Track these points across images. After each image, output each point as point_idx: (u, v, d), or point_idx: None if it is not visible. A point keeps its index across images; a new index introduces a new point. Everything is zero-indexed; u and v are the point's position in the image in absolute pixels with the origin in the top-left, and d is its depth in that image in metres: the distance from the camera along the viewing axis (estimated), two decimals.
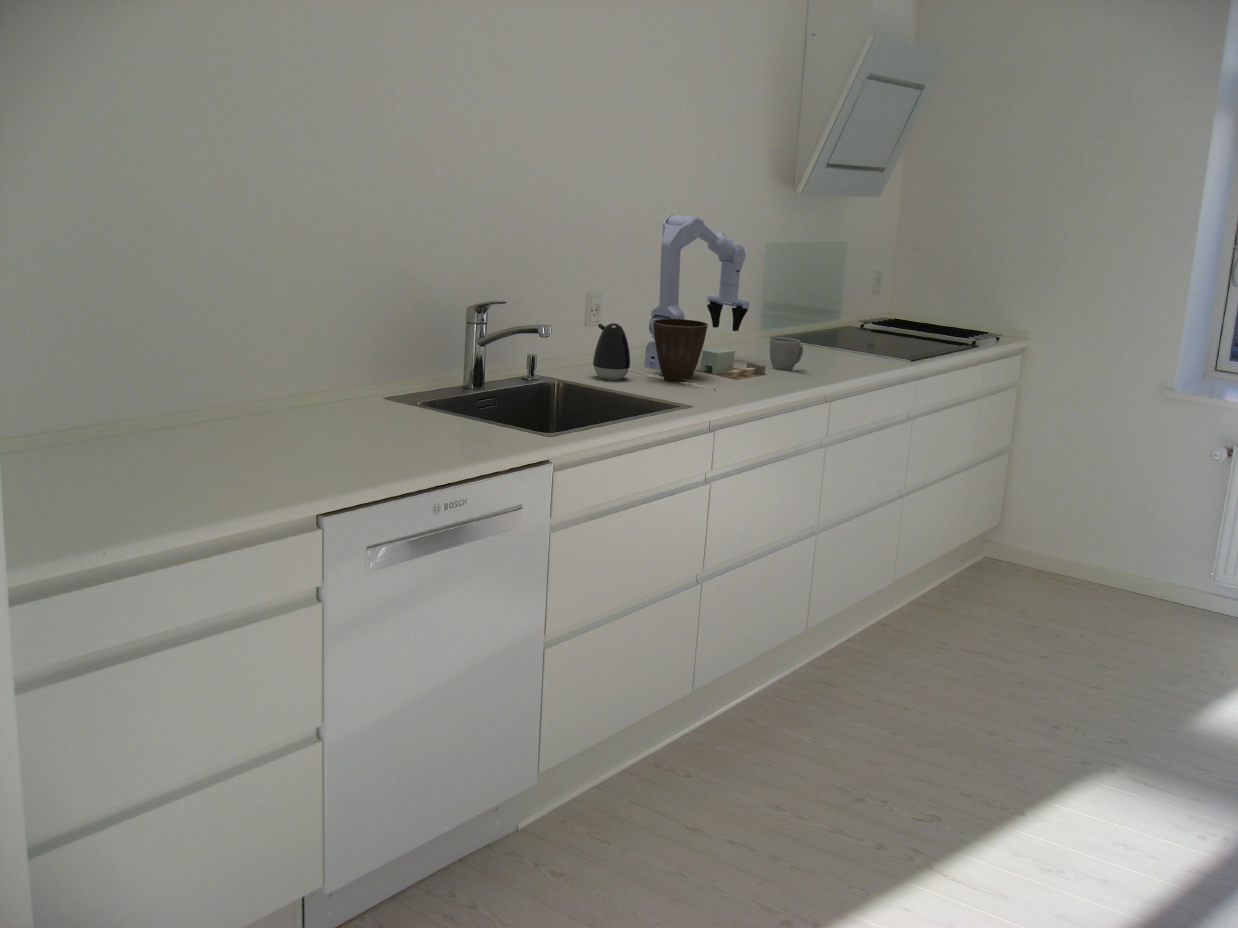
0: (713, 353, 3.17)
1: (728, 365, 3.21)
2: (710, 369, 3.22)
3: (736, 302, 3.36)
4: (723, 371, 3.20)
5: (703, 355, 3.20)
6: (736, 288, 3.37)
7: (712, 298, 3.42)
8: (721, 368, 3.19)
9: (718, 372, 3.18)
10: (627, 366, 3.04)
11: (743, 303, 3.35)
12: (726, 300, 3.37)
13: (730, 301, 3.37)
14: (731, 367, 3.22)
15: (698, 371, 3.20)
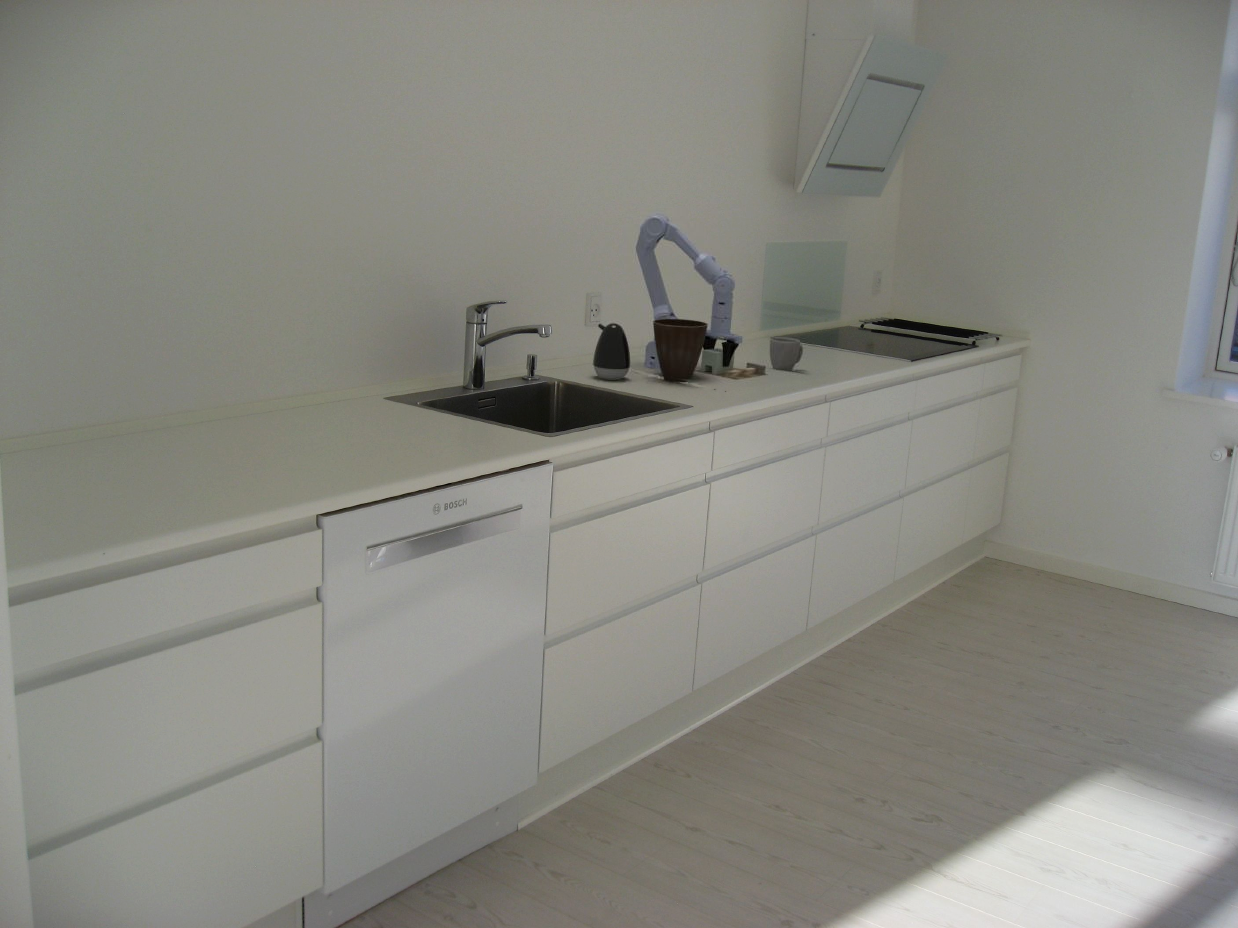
0: (713, 353, 3.17)
1: None
2: (710, 369, 3.22)
3: (728, 337, 3.16)
4: (723, 371, 3.20)
5: (703, 355, 3.20)
6: (728, 321, 3.17)
7: None
8: (721, 368, 3.19)
9: (718, 372, 3.18)
10: (627, 366, 3.04)
11: (736, 338, 3.15)
12: (718, 334, 3.17)
13: (722, 335, 3.16)
14: (731, 367, 3.22)
15: (698, 371, 3.20)
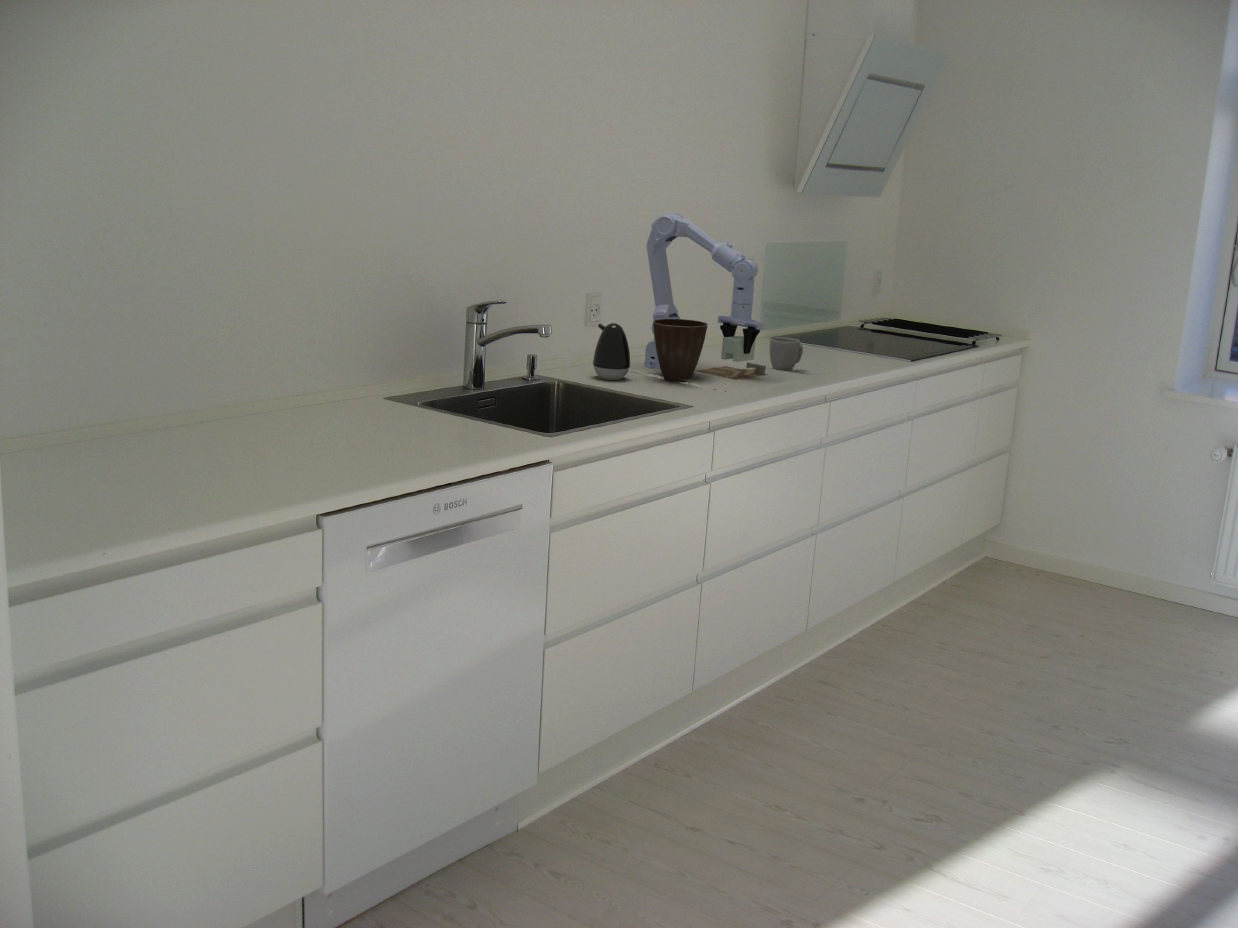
0: (734, 340, 3.10)
1: (749, 353, 3.14)
2: (730, 357, 3.15)
3: (750, 323, 3.09)
4: (744, 359, 3.13)
5: (724, 343, 3.13)
6: (749, 307, 3.10)
7: (723, 318, 3.15)
8: (742, 356, 3.12)
9: (739, 360, 3.12)
10: (627, 366, 3.04)
11: (757, 324, 3.08)
12: (739, 321, 3.10)
13: (743, 322, 3.09)
14: (752, 355, 3.16)
15: (698, 371, 3.20)
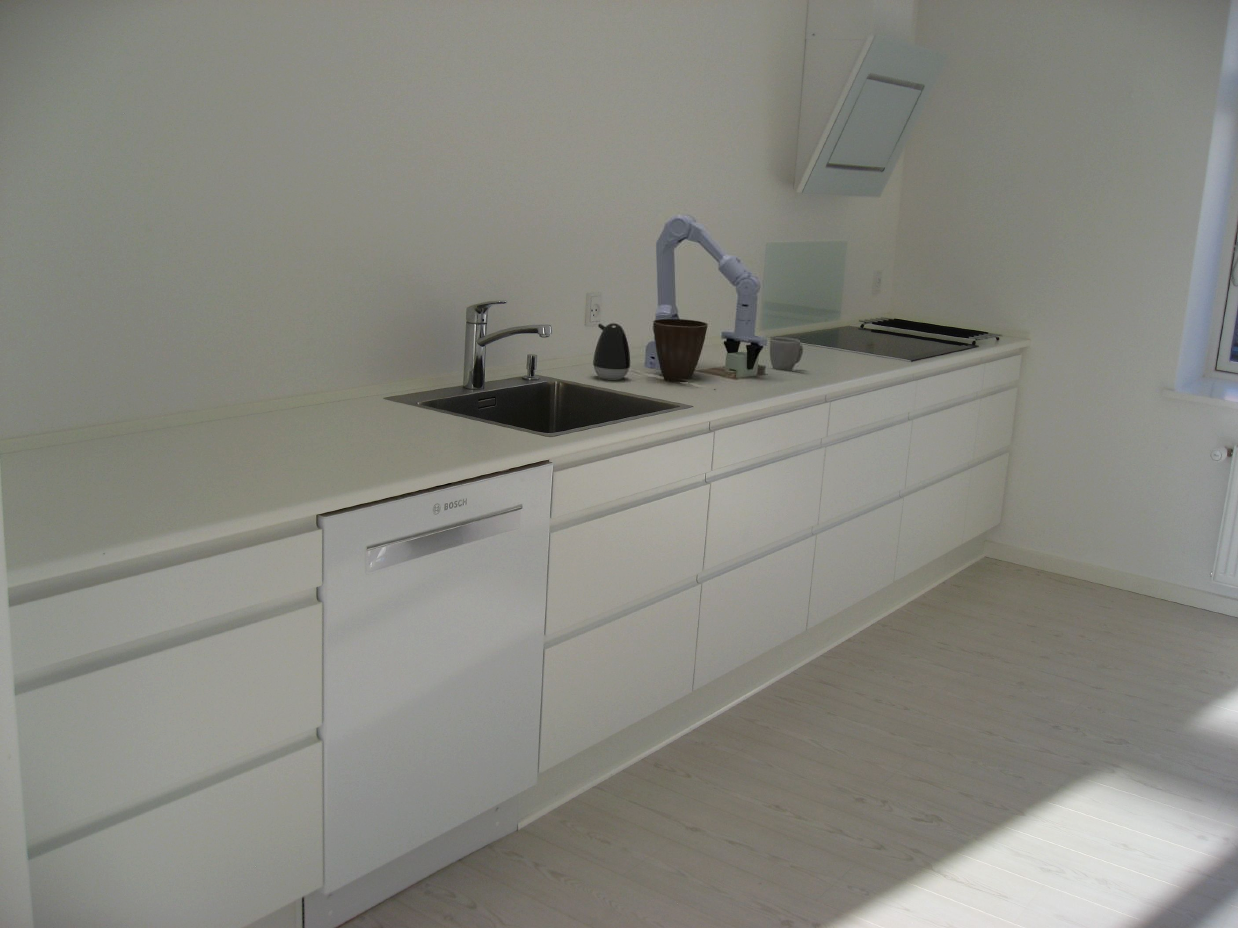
0: (737, 357, 3.13)
1: (752, 369, 3.17)
2: None
3: (753, 339, 3.12)
4: (747, 375, 3.16)
5: (727, 358, 3.16)
6: (753, 324, 3.13)
7: (727, 334, 3.18)
8: (745, 372, 3.15)
9: (742, 376, 3.15)
10: (627, 366, 3.04)
11: (760, 340, 3.11)
12: (742, 337, 3.13)
13: (746, 338, 3.12)
14: (755, 371, 3.19)
15: (698, 371, 3.20)
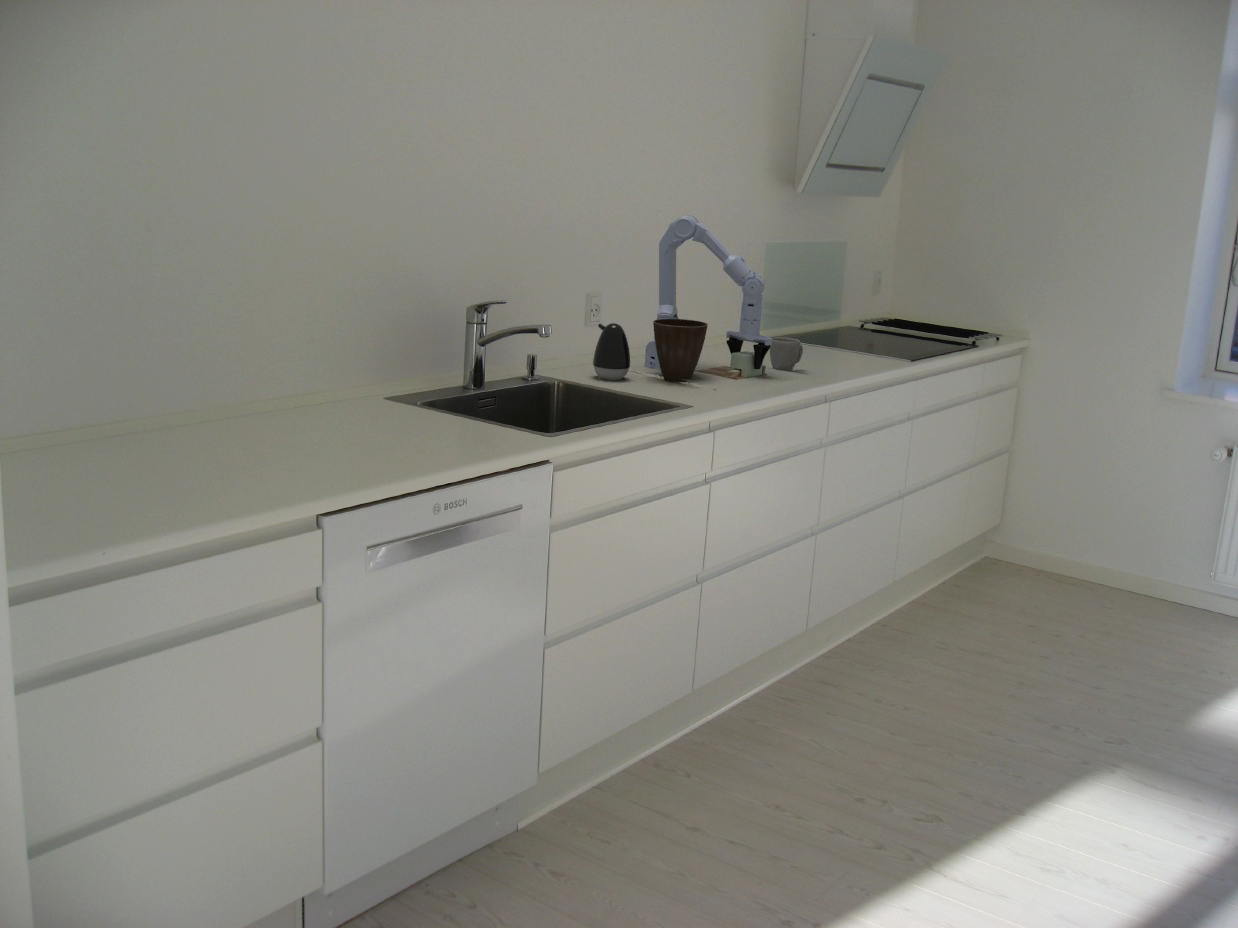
0: (742, 356, 3.15)
1: None
2: None
3: (758, 338, 3.13)
4: (752, 374, 3.18)
5: (732, 358, 3.18)
6: (758, 323, 3.14)
7: (732, 333, 3.19)
8: (750, 371, 3.17)
9: (747, 375, 3.16)
10: (627, 366, 3.04)
11: (766, 340, 3.12)
12: (747, 336, 3.14)
13: (751, 337, 3.14)
14: (760, 370, 3.20)
15: (698, 371, 3.20)
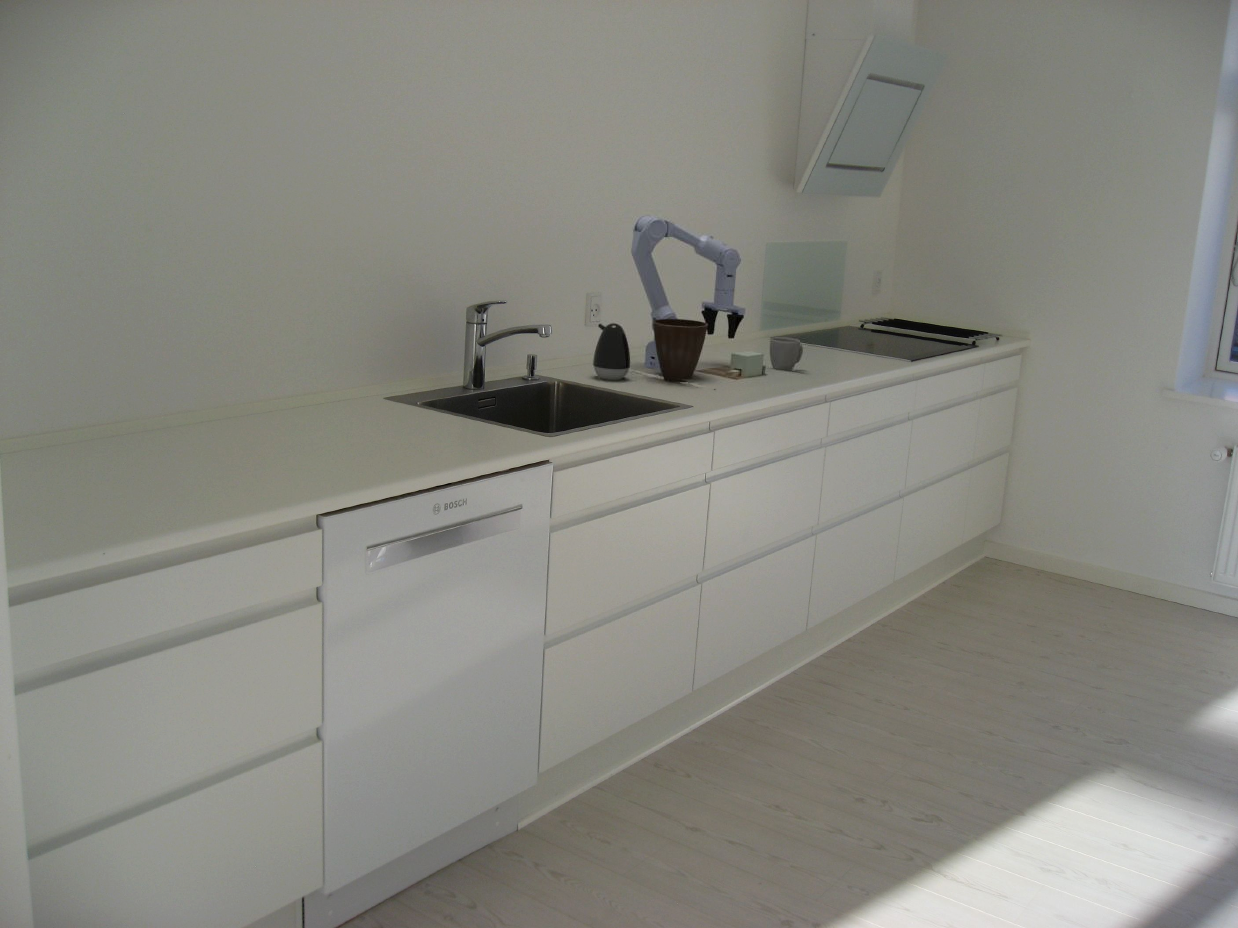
0: (742, 356, 3.15)
1: (757, 368, 3.19)
2: None
3: (731, 308, 3.22)
4: (752, 374, 3.18)
5: (732, 358, 3.18)
6: (732, 294, 3.23)
7: (707, 304, 3.28)
8: (750, 371, 3.17)
9: (747, 375, 3.16)
10: (627, 366, 3.04)
11: (739, 309, 3.21)
12: (721, 306, 3.23)
13: (725, 307, 3.23)
14: (760, 370, 3.20)
15: (698, 371, 3.20)
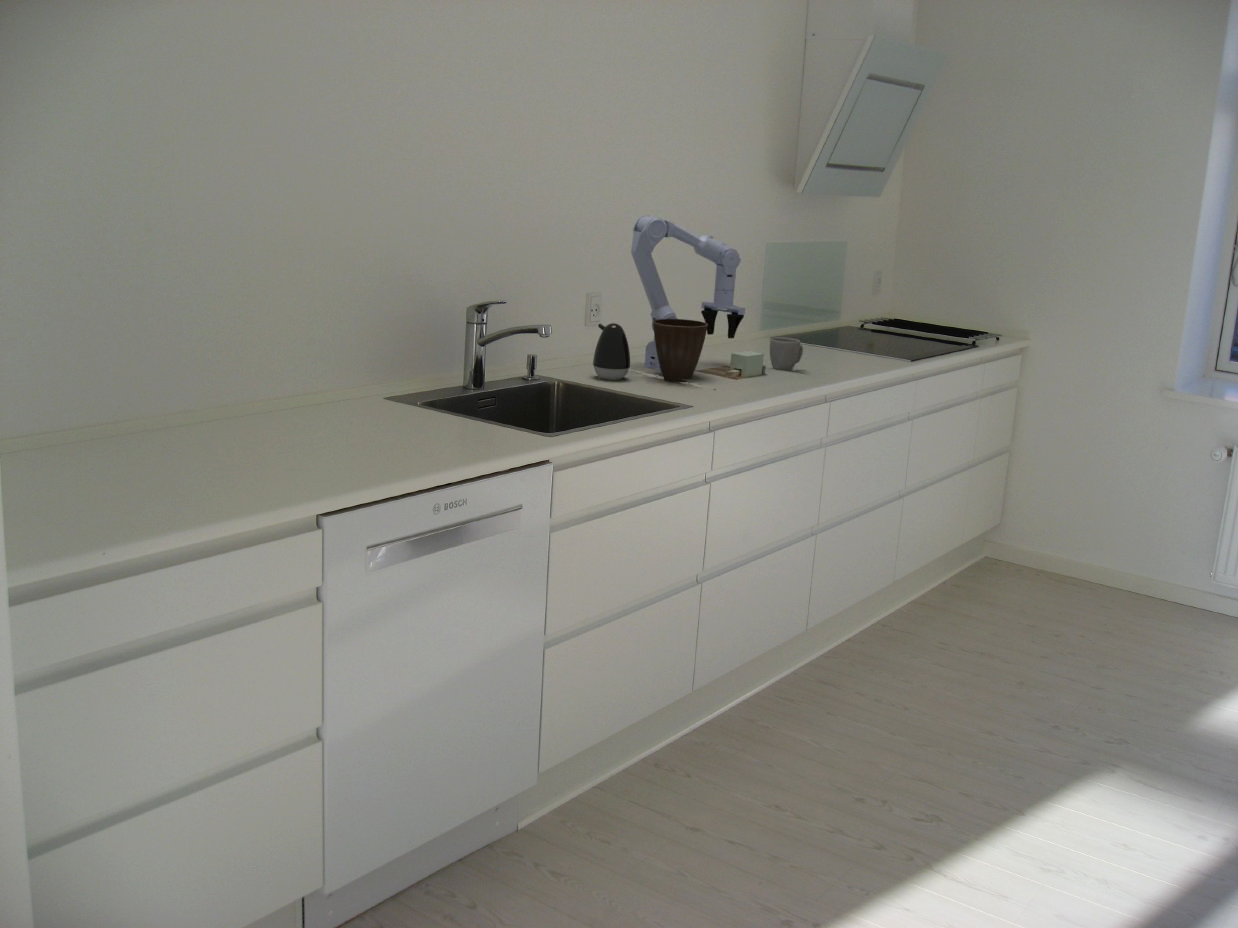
0: (742, 356, 3.15)
1: (757, 368, 3.19)
2: None
3: (731, 308, 3.22)
4: (752, 374, 3.18)
5: (732, 358, 3.18)
6: (731, 293, 3.23)
7: (706, 304, 3.28)
8: (750, 371, 3.17)
9: (747, 375, 3.16)
10: (627, 366, 3.04)
11: (739, 309, 3.21)
12: (721, 306, 3.23)
13: (725, 307, 3.23)
14: (760, 370, 3.20)
15: (698, 371, 3.20)
